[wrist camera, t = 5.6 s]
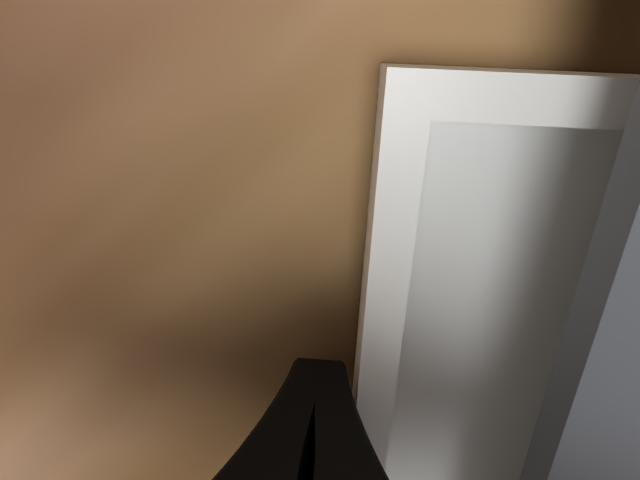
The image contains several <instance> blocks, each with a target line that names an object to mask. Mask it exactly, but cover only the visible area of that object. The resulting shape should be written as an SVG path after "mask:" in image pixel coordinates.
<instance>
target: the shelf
mask: <svg viewBox="0 0 640 480" xmlns="http://www.w3.org/2000/svg"><path fill="white" fill-rule="evenodd" d="M519 480H640V79H639V82H638V86H637V89H636V92H635V96H634V99H633V102H632V106H631V109H630V112H629V116H628V119H627V122H626V126H625V129H624V132H623V136H622V139H621V142H620V146H619V149H618V152H617V156H616V159H615V162H614V166H613V169H612V172H611V176H610V179H609V182H608V186H607V189H606V192H605V196H604V199H603V202H602V206H601V209H600V212H599V216H598V219H597V222H596V226H595V229H594V232H593V236H592V239H591V242H590V246H589V249H588V252H587V256H586V259H585V262H584V266H583V269H582V272H581V276H580V279H579V282H578V286H577V289H576V292H575V296H574V299H573V302H572V306H571V309H570V312H569V316H568V319H567V322H566V326H565V329H564V332H563V336H562V339H561V342H560V346H559V349H558V352H557V356H556V359H555V362H554V366H553V369H552V372H551V376H550V379H549V382H548V386H547V389H546V392H545V396H544V399H543V402H542V406H541V409H540V412H539V416H538V419H537V422H536V425H535V429H534V432H533V435H532V439H531V442H530V445H529V449H528V452H527V455H526V459H525V462H524V465H523V469H522V472H521V475H520V479H519Z"/></svg>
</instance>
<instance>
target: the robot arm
mask: <svg viewBox="0 0 640 480" xmlns="http://www.w3.org/2000/svg"><path fill="white" fill-rule="evenodd" d="M212 480H389V478H388V476H387V474H386V472H385V471H384V469H383V467H382V465H381V463H380V461H379V459H378V457H377V455H376V452H375V450H374V448H373V446H372V444H371V442H370V440H369V437H368V435H367V433H366V430H365V428H364V425H363V423H362V420H361V418H360V415H359V413H358V410H357V407H356V405H355V402H354V399H353V396H352V392H351V389H350V385H349V381H348V377H347V372H346V365H345V364H344V363H343V362H342V361H333V360H319V359H306V358H298V359H297V360H295V361H294V363H293V365H292V368H291V370H290V372H289V374H288V376H287V378H286V380H285V381H284V383H283V385H282V387H281V388H280V390H279V392H278V394H277V395H276V397H275V398H274V400H273V401H272V403H271V404H270V406H269V408H268V409H267V411H266V412H265V414H264V415H263V417H262V418H261V420H260V421H259V422H258V424H257V425H256V426H255V428H254V429H253V430H252V432H251V433H250V434H249V436H248V437H247V438H246V440H245V441H244V442H243V444H242V445H241V446H240V447H239V449H238V450H237V451H236V452H235V454H234V455H233V456H232V457H231V458H230V460H229V461H228V462H227V463H226V464H225V465H224V467H223V468H222V469H221V470H220V471H219V472H218V473H217V474H216V475H215V477H214V478H213V479H212Z"/></svg>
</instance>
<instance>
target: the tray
mask: <svg viewBox="0 0 640 480" xmlns="http://www.w3.org/2000/svg"><path fill="white" fill-rule="evenodd" d="M639 79H640V74H623V73H601V72H578V71H555V70H532V69H509V68H487V67H464V66H441V65H418V64H395V63H380V73H379V85H378V97H377V108H376V120H375V132H374V144H373V155H372V167H371V179H370V191H369V202H368V214H367V226H366V238H365V250H364V261H363V273H362V285H361V297H360V308H359V320H358V332H357V344H356V355H355V367H354V379H353V391H352V396H353V399H354V402H355V405H356V407H357V410H358V413H359V415H360V418H361V420H362V423H363V425H364V428H365V430H366V433H367V435H368V437H369V440H370V442H371V444H372V446H373V448H374V450H375V452H376V455H377V457H378V459H379V461H380V463H381V465H382V467H383V469H384V471H385V472H386V474H387V476H388V478H389V480H519V479H520V475H521V472H522V469H523V465H524V462H525V459H526V455H527V452H528V449H529V445H530V442H531V439H532V435H533V432H534V429H535V425H536V422H537V419H538V416H539V412H540V409H541V406H542V402H543V399H544V396H545V392H546V389H547V386H548V382H549V379H550V376H551V372H552V369H553V366H554V362H555V359H556V356H557V352H558V349H559V346H560V342H561V339H562V336H563V332H564V329H565V326H566V322H567V319H568V316H569V312H570V309H571V306H572V302H573V299H574V296H575V292H576V289H577V286H578V282H579V279H580V276H581V272H582V269H583V266H584V262H585V259H586V256H587V252H588V249H589V246H590V242H591V239H592V236H593V232H594V229H595V226H596V222H597V219H598V216H599V212H600V209H601V206H602V202H603V199H604V196H605V192H606V189H607V186H608V182H609V179H610V176H611V172H612V169H613V166H614V162H615V159H616V156H617V152H618V149H619V146H620V142H621V139H622V136H623V132H624V129H625V126H626V122H627V119H628V116H629V112H630V109H631V106H632V102H633V99H634V96H635V92H636V89H637V86H638V82H639Z"/></svg>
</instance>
